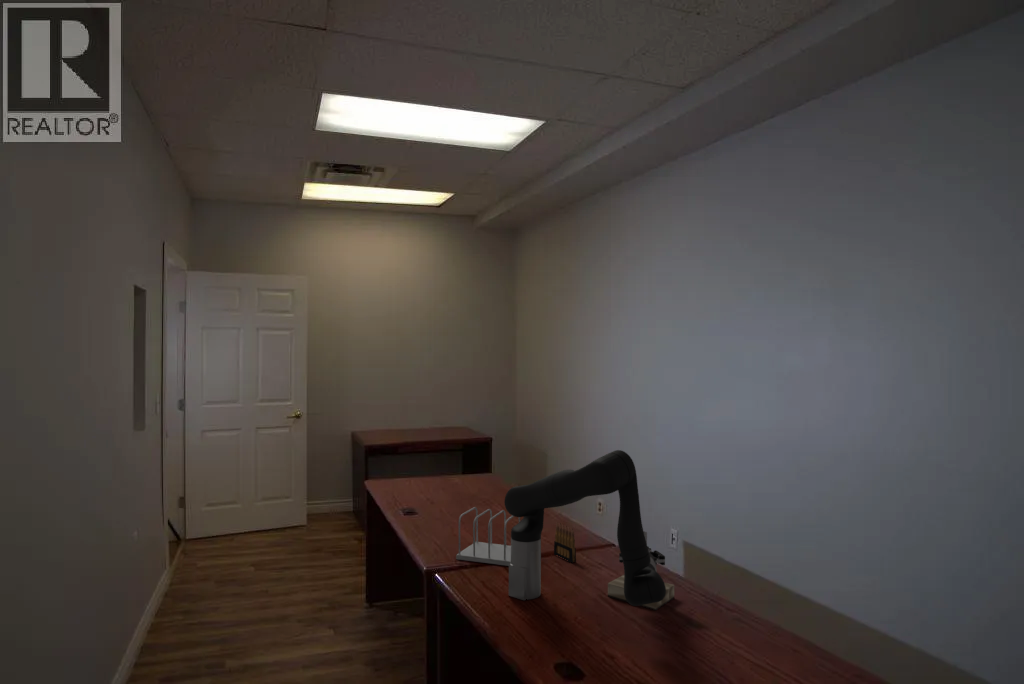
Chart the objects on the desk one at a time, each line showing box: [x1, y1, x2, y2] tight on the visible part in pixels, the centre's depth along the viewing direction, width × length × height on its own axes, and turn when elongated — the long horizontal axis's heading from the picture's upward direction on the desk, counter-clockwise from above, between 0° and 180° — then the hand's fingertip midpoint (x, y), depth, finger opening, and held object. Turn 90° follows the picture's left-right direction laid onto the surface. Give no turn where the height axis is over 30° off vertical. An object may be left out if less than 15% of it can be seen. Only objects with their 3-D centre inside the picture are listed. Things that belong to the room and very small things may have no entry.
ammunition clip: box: [553, 521, 577, 564], centre depth 232 cm, size 11×2×12 cm, turn 33°
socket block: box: [607, 574, 675, 611], centre depth 197 cm, size 12×16×4 cm
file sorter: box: [455, 506, 521, 567], centre depth 234 cm, size 25×17×16 cm
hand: (641, 549), depth 200 cm, fingers closed on steel pin, 3 cm apart
